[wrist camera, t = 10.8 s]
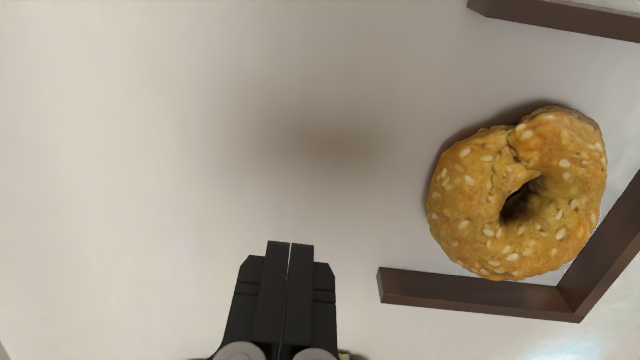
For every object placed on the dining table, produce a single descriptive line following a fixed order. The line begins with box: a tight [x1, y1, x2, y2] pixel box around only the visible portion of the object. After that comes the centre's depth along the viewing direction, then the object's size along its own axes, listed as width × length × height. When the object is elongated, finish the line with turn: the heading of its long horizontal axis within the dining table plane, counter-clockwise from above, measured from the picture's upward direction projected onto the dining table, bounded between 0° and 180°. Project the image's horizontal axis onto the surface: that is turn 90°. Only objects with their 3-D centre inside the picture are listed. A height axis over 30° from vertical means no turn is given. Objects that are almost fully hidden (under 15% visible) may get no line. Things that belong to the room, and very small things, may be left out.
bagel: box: [425, 105, 607, 281], centre depth 22 cm, size 10×11×5 cm
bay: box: [376, 0, 640, 323], centre depth 23 cm, size 20×15×2 cm
